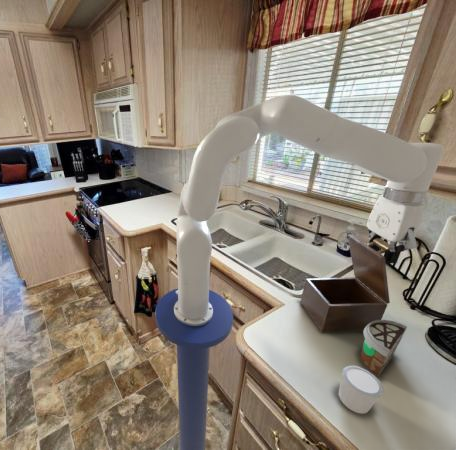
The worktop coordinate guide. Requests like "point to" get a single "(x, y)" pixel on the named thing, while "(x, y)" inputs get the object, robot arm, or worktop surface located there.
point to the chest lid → (370, 265)
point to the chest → (341, 304)
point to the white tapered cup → (359, 389)
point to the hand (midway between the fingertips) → (380, 256)
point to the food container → (380, 343)
